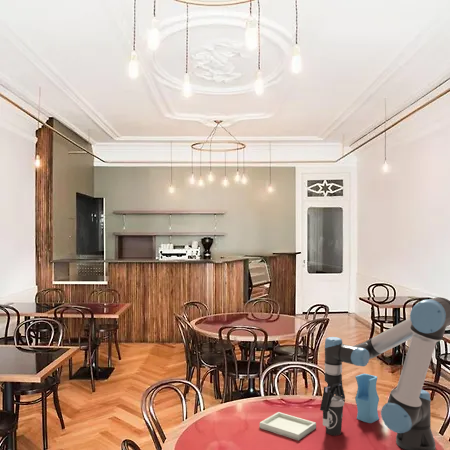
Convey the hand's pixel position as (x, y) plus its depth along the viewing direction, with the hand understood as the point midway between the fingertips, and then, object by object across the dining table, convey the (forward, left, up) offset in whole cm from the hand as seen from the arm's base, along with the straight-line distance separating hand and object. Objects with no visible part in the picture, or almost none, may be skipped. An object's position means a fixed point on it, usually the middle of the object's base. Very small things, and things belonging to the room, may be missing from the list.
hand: (332, 420), depth 200 cm
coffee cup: (0, 0, -5) cm, 5 cm away
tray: (+18, +9, -5) cm, 21 cm away
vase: (-6, -24, -5) cm, 25 cm away
